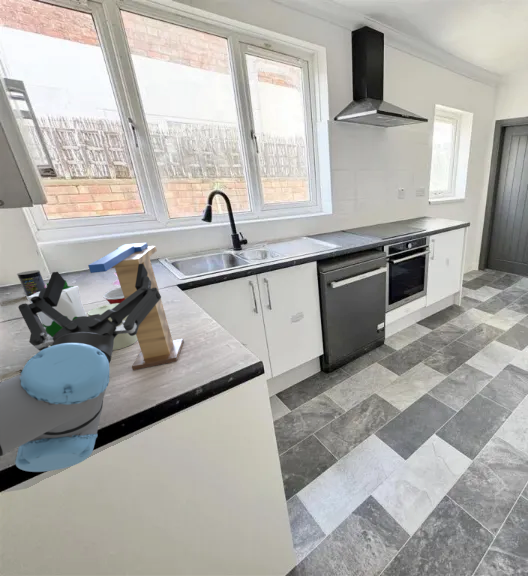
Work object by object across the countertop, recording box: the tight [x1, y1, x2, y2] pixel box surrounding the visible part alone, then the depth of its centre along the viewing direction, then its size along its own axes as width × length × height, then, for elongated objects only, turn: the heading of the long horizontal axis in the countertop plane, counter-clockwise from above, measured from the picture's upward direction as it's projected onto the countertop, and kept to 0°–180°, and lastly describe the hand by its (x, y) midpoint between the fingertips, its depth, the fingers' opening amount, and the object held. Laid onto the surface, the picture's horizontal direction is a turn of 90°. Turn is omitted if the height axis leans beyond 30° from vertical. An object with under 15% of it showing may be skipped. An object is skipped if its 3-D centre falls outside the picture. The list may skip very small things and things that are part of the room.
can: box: [87, 303, 138, 351], centre depth 93 cm, size 9×9×12 cm
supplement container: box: [16, 269, 47, 297], centre depth 136 cm, size 7×7×10 cm
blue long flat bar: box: [87, 242, 149, 274], centre depth 72 cm, size 26×5×2 cm, turn 24°
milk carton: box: [26, 279, 87, 347], centre depth 90 cm, size 9×9×20 cm
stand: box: [111, 245, 185, 371], centre depth 82 cm, size 17×10×30 cm, turn 24°
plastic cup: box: [102, 286, 125, 304], centre depth 107 cm, size 11×11×12 cm
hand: (103, 272), depth 63 cm, fingers open, 13 cm apart
